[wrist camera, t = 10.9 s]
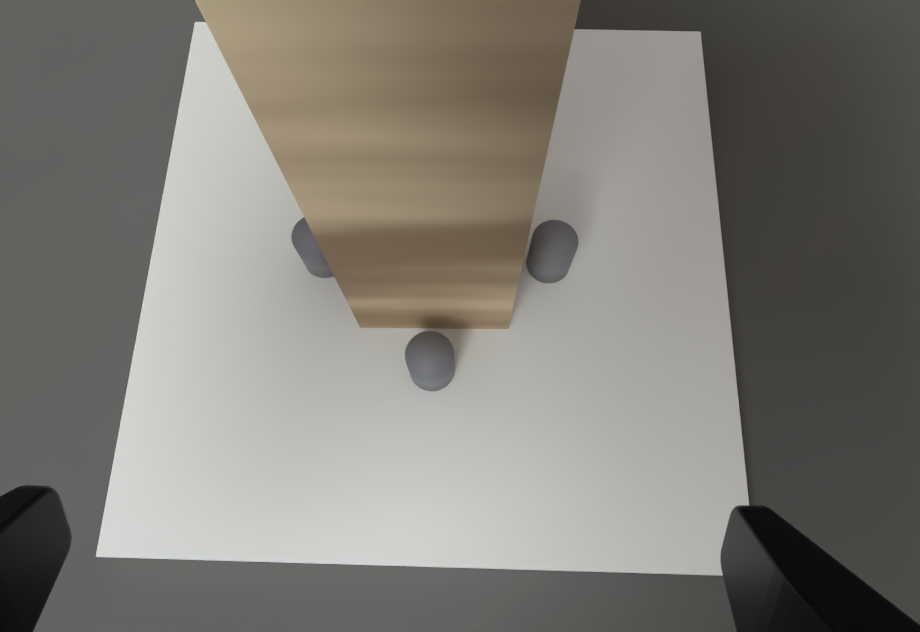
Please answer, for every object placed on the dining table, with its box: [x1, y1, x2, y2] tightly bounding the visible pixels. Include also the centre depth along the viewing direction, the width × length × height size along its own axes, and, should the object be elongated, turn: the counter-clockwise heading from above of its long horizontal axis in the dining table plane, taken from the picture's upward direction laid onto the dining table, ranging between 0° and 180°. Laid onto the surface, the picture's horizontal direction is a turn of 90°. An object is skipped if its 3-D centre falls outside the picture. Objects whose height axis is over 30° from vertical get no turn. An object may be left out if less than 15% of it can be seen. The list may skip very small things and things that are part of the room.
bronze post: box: [195, 0, 581, 329], centre depth 12 cm, size 4×4×13 cm
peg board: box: [96, 22, 749, 575], centre depth 18 cm, size 16×16×2 cm
